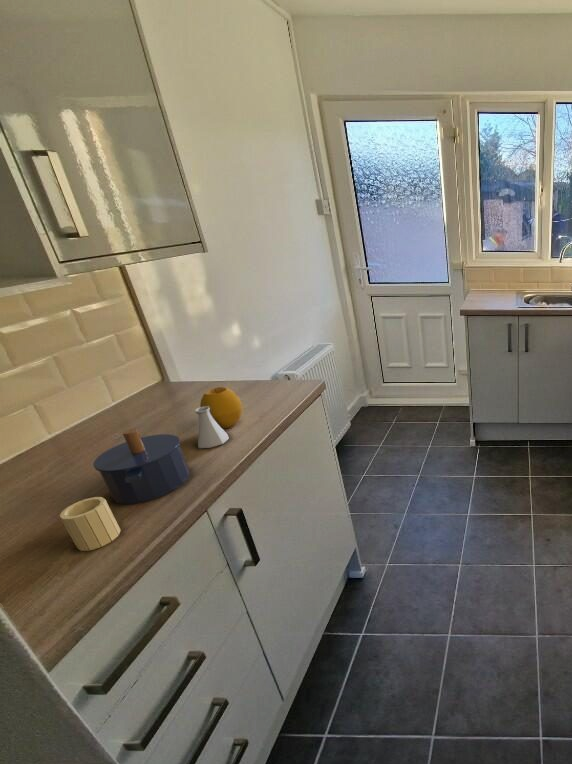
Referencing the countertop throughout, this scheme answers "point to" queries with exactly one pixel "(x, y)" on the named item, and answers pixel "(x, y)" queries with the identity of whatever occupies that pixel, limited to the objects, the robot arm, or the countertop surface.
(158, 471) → the pot
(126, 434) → the pot lid
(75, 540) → the pale yellow hollow cylinder
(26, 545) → the countertop surface
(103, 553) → the countertop surface
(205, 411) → the flask
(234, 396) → the round orange vase
